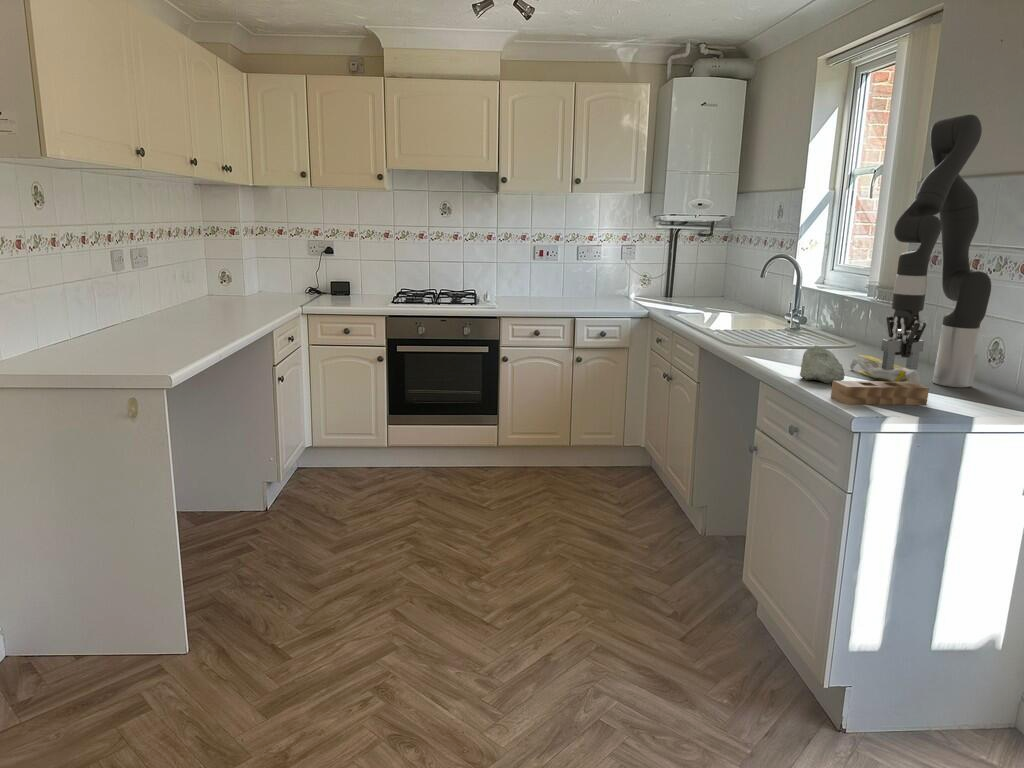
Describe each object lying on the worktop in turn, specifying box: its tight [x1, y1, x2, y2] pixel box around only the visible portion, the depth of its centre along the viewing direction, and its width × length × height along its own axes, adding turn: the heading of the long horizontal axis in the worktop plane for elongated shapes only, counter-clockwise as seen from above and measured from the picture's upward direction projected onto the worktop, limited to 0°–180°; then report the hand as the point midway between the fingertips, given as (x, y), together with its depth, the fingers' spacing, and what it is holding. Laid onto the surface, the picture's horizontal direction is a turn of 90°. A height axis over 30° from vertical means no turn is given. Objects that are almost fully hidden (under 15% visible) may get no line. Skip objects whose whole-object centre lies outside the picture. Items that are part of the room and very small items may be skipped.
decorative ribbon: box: [849, 354, 921, 384], centre depth 212 cm, size 8×6×30 cm
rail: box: [830, 380, 930, 406], centre depth 186 cm, size 22×7×4 cm, turn 94°
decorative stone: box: [799, 344, 846, 385], centre depth 208 cm, size 14×11×10 cm
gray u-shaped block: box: [880, 338, 925, 371], centre depth 194 cm, size 10×3×8 cm, turn 96°
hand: (901, 355), depth 194 cm, fingers closed on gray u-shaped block, 3 cm apart
